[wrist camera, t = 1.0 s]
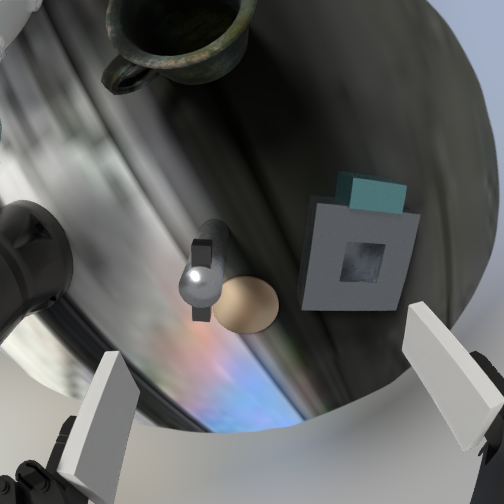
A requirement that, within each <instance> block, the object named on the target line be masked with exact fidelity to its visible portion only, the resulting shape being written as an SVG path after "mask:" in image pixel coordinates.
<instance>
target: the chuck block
mask: <svg viewBox="0 0 504 504" xmlns="http://www.w3.org/2000/svg"><path fill="white" fill-rule="evenodd" d="M406 189H407V185H404V184H402V183H399V182H397V181H394V180H392V179H389V178H386V177H380V176H373V175H366V174H359V173H352V172H344V171H338V178H337V186H336V194H335V197H326V196H316V195H309V199H308V208H307V216H306V224H305V232H304V240H303V247H302V255H301V262H300V269H299V276H298V283H297V290H296V294H297V297H298V301H299V304H300V307H301V310H318V311H389V310H396V309H397V305H398V302H399V299H400V295H401V292H402V289H403V285H404V282H405V278H406V274H407V270H408V267H409V263H410V259H411V255H412V251H413V246H414V242H415V238H416V233H417V229H418V224H419V219H420V214H419V213H417V212H415V211H413V210H411V209H410V208H408V207H406V206H404V201H405V195H406Z"/></svg>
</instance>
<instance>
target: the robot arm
mask: <svg viewBox="0 0 504 504" xmlns="http://www.w3.org/2000/svg"><path fill="white" fill-rule="evenodd" d="M1 130H2V125H1V120H0V139H1ZM72 274H73V260H72V254H71V249H70V246H69V243H68V240H67V238H66V236H65V234H64V232H63V230H62V228H61V226H60V225H59V223H58V222H57V221H56V219H55V218H54V217H53V216H52V215H51V214H50V213H49V212H48V211H47V210H46V209H45V208H43V207H42V206H40V205H38V204H36V203H34V202H31V201H26V200H19V201H15V202H12V203H10V204H8V205H6V206H4V207H2V208H0V345H1V344H2V342H3V341H4V340H5V339H6V338H7V337H8V335H9V334H10V333H11V332H12V331H13V330H14V328H15V327H16V326H17V325H18V324H19V323H20V322H21V321H22V320H23V318H24V317H26V316H29V315H31V314H34V313H36V312H39V311H42V310H44V309H47V308H49V307H51V306H52V305H54V304H55V303H56V302H57V301H58V300H59V299H60V298H61V297H62V296H63V295H64V294H65V293H66V291H67V290H68V288H69V286H70V283H71V280H72ZM402 352H403V353H404V355H405V356H406V358H407V359H408V361H409V362H410V364H411V365H412V367H413V369H414V370H415V372H416V373H417V375H418V376H419V378H420V380H421V381H422V383H423V384H424V386H425V388H426V389H427V391H428V392H429V394H430V396H431V397H432V399H433V400H434V402H435V404H436V406H437V407H438V409H439V411H440V412H441V414H442V415H443V417H444V419H445V420H446V422H447V424H448V426H449V427H450V429H451V431H452V432H453V434H454V436H455V438H456V440H457V441H458V443H459V445H460V447H461V449H462V450H463V452H465V451H467V450H468V449H470V448H472V447H474V446H476V445H478V444H479V442H480V441H481V440H482V438H483V437H484V436H485V438H486V440H487V442H486V443H485V445H484V446H483V447H482V449H481V450H480V452H479V454H478V456H480V455H481V454H482V453H483V457H482V461H481V466H480V470H479V474H478V478H477V482H476V485H475V488H474V492H473V495H472V499H471V502H470V504H504V378H503V377H502V376H501V375H500V373H498V372H497V370H496V368H495V367H494V366H492V364H491V362H490V361H489V360H488V359H487V358H486V357H485V356H484V355H482V354H480V353H479V352H477V351H474V352H471V353H468V352H467V351H466V350H465V348H464V347H463V346H462V345H461V344H460V342H459V341H458V340H457V339H456V338H455V337H454V336H453V335H452V333H451V332H450V331H449V330H448V329H447V328H446V326H445V325H444V324H443V323H442V322H441V321H440V320H439V319H438V318H437V316H436V315H435V314H434V313H433V312H432V311H431V310H430V309H429V308H428V307H427V306H426V304H425V303H424V302H423V301H422V302H418V303H415V304H411V305H409V308H408V315H407V322H406V329H405V335H404V341H403V347H402ZM139 395H140V391H139V389H138V387H137V385H136V383H135V381H134V379H133V377H132V375H131V373H130V371H129V369H128V367H127V365H126V363H125V361H124V359H123V357H122V355H121V353H120V351H108V352H105V353H104V355H103V358H102V360H101V362H100V364H99V366H98V368H97V371H96V373H95V375H94V377H93V380H92V382H91V384H90V387H89V389H88V391H87V393H86V396H85V398H84V401H83V403H82V405H81V408H80V410H79V413H78V415H77V416H70V417H69V418H68V419H67V420H66V421H65V423H64V424H63V426H62V428H61V430H60V433H59V436H58V438H57V440H56V444H55V445H54V448H53V450H52V453H51V455H50V458H49V461H48V463H47V466H46V469H44V468H43V467H42V466H41V465H40V464H39V463H38V462H36V461H34V460H28V461H24V462H23V463H22V464H20V465H19V467H18V468H17V470H16V474H15V476H16V480H17V481H18V482H16V481H14V480H13V479H12V478H11V477H9V476H8V475H2V476H0V504H88V500H89V499H90V500H91V501H92V502H93V503H95V504H114V500H115V495H116V490H117V485H118V480H119V476H120V471H121V467H122V462H123V457H124V454H125V449H126V445H127V441H128V437H129V433H130V429H131V425H132V421H133V417H134V413H135V410H136V406H137V402H138V398H139ZM483 451H484V452H483Z"/></svg>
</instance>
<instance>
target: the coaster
mask: <svg viewBox="0 0 504 504" xmlns="http://www.w3.org/2000/svg"><path fill="white" fill-rule="evenodd" d="M278 309H279V303H278V298H277V294H276V292H275V290H274V289H273V288H272V286H271V285H270V284H268V283H267V282H266V281H264V280H262V279H260V278H257V277H254V276H238V277H234V278H231V279H229V280H227V281H226V282H224V283H223V286H222V293H221V297H220V299H219V300H218V301H217V302H216V303H215V304H214V305H213V312H214V315H215V317H216V319H217V320H218V322H219V323H220V324H221V325H222V326H223V327H225V328H226V329H228V330H230V331H232V332H235V333H240V334H251V333H256V332H259V331H261V330H263V329H265V328H267V327H268V326H269V325H270V324H271V323H272V322H273V321H274V319H275V318H276V316H277V313H278Z"/></svg>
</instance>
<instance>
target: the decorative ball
mask: <svg viewBox="0 0 504 504" xmlns="http://www.w3.org/2000/svg"><path fill="white" fill-rule="evenodd" d="M42 1H43V0H0V61H1V60H2V59H4V58H5V56H6V53H5V49H6V48H7V47H8V46H9V45H10V44H11V43H12V41H13V40H14V39H15V38H16V37H17V36H18V34H19V33H20V32H21V30H22V29H23V27H24V26H25V24H26V23H27V21H28V19H29V17H30V16H31V13H32V12H36V11H38V9H39V8H40V6H41V4H42Z"/></svg>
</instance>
